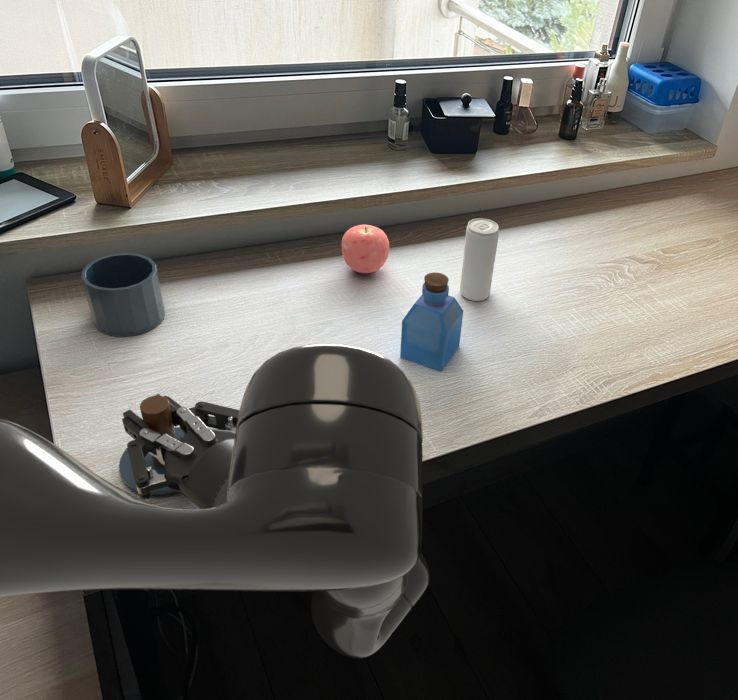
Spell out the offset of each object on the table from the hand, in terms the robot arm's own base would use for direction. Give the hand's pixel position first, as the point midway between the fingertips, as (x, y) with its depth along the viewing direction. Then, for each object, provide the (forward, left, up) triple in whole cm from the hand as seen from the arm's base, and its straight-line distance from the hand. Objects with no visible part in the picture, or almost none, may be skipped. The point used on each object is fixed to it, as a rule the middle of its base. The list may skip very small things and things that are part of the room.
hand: (141, 409), depth 77 cm
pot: (+8, +26, -7) cm, 28 cm away
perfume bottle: (+37, -4, -7) cm, 38 cm away
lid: (+1, -3, -6) cm, 7 cm away
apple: (+42, +18, -7) cm, 46 cm away
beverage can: (+52, +3, -7) cm, 53 cm away
